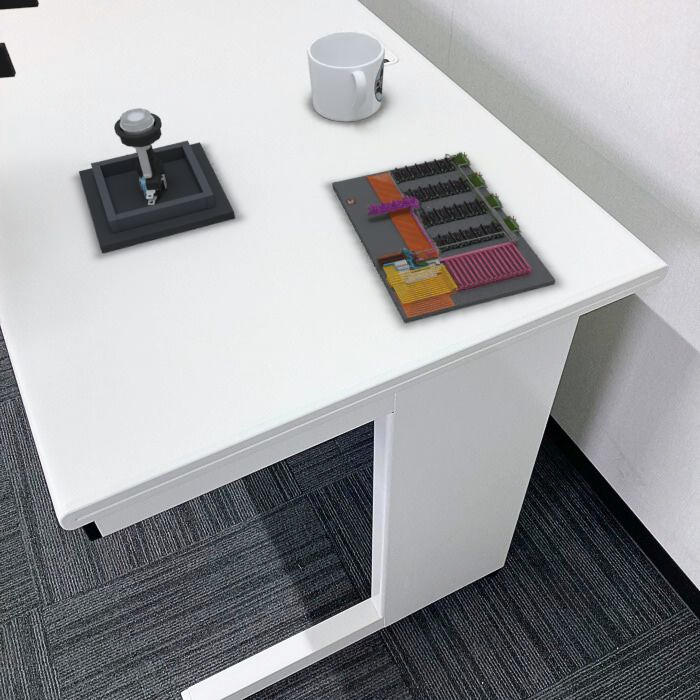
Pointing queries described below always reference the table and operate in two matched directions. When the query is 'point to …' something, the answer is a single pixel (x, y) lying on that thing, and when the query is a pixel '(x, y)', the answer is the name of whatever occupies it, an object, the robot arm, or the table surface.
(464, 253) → the circuit board
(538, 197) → the table surface
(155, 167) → the push button
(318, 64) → the mug
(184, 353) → the table surface
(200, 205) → the docking pad
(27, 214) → the table surface
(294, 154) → the table surface
